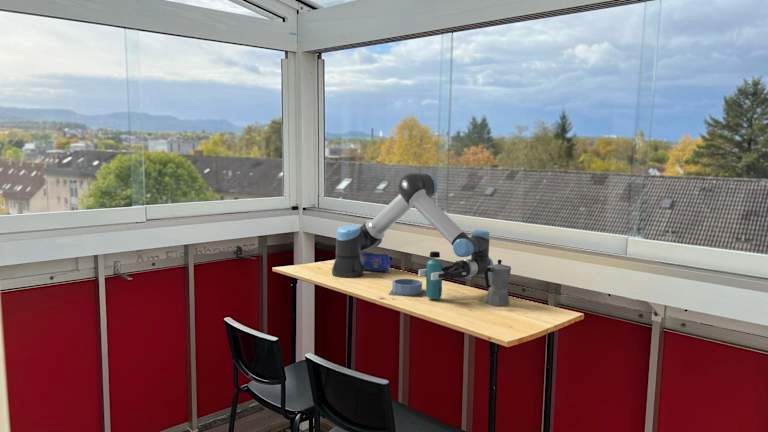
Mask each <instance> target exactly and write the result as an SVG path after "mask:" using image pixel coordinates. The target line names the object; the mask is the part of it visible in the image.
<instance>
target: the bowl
mask: <svg viewBox="0 0 768 432" xmlns="http://www.w3.org/2000/svg"><path fill="white" fill-rule="evenodd" d="M391 285H392V286H391V287H392V288H391V290H393V293H394V294H397V295H403V296H402V297H408V296H415V295H420V294H421V293H422V289H423V281H421V280H419V279H415V278H414V279H413V278H398V279H397V278H396V279H393V280H392V284H391Z"/></svg>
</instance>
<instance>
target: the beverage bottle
mask: <svg viewBox="0 0 768 432" xmlns="http://www.w3.org/2000/svg"><path fill="white" fill-rule="evenodd" d="M440 253H441V252H440V251H430V253H429V258H431V259H429V260H428V261H427V262H426V269H427V276H426V278H425V280H426V281H425V283H426V284H425V296H426V298H428V299H434V300H435V299H441V297H442V296H443V288H442V287H443V286H442V285H443V279H437V280H431V273H436V272H442V265H443V262H442V261H441V260H440V259H438V258H440V257H441V254H440ZM432 258H433V259H432ZM436 258H437V259H436Z"/></svg>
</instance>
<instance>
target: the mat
mask: <svg viewBox="0 0 768 432" xmlns="http://www.w3.org/2000/svg"><path fill="white" fill-rule="evenodd" d="M425 292H426V288H425V289H424V288H422V293H421V294H420V295H415V296H407V297H409V298H411V297H412V298H422V297H423V295H424V294H425ZM388 296H397V297H404V296H403V295H397V294H394V293H393V290H392V289H391V290H390V292H389V293H388Z"/></svg>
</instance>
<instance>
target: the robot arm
mask: <svg viewBox="0 0 768 432" xmlns="http://www.w3.org/2000/svg"><path fill="white" fill-rule="evenodd" d="M438 185H439V184H438V180H437V179H436V177H435V176H434V175H433V174H432V173H429V172H408V173H406V174H404V175H403V176H401V178H400V180H399V181H398V184H397V188H398V192H399V194H398V195H397V196H396V197H395V198H394V199H393V200H391V201H390V202H389V203H388V204H387V205H386V206H385V207H384V208H383V209H382V210H381V211H380V212H379V213H378V214H377V215H375V216H374V218H372V219H367V220H366V221H365V222H364V223H363V224H362V225H361V226H360V225H356V224H346V225H342V226H340V227H337V229H336V233H335V260H334V263H333V264H332V268H331V275H332V274H333V275H332V276H334V275H335V276H334V277H337V276H339V277H340V278H358V277H362V276H364V270H363V268H362V264H361V261H360V253H361V252H362V251H366V250H372V249H375V248H378V246H380V245H381V243H382V241H383V238H384V237H385V233H386V231H389V229H390V228H391V227H392V226H393V225H394V224H395V223H396V222H398V220H400V219H401V218H402V217H403V216H404V215H405V214H406V213H407V212H408V211H410V209H412V208H413V207H414V208H415V209H416V211H418V212H419V214H421V215H422V216H423V217H424V218H425V219H426V220H427V221H428V222H429V224H430V225H431V226H433V228H434V229H436V230H437V231H438V232H439V234H441V236H442V237H444V238H445V240H446V241H448V243H449V244H450V245H452V249H453V252H454V254H455V255H456V256H457V257H459V258H466V259H461V260H456V261H454V263H453V264H449V265H446V264H442V272H436V273H431V280H437V279H442V280H443V279H448V280H454V279H464V278H467V279H469V278H472V277H476V276H484V271H485V269H486V268H487V267H488V266H490V265H494V262H493V259H492V258H490V256H489V253H490V241H491V240H490V232H489V231H488V230H483V229H479V230H477V229H476V230H473V231H472V233H471V236H469V235H467V234H466V232H465V231H464V230H462V228H461V227H459V225H458V224H456V222H455V221H453V219H452V218H450V217H449V216H448V214H447V213H445V212H444V211H443V210H442V209H441V208H440V206H439V205H438V204H436V202H434V200H432V197H434V196H435V195H436V194H437V192H438V187H439V186H438ZM470 256H471V257H470ZM468 257H470V258H468ZM417 274H418V276H417V277H418V278H420V277H421V278H423V277H427V268H423V269H418V273H417ZM339 277H338V278H339Z"/></svg>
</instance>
